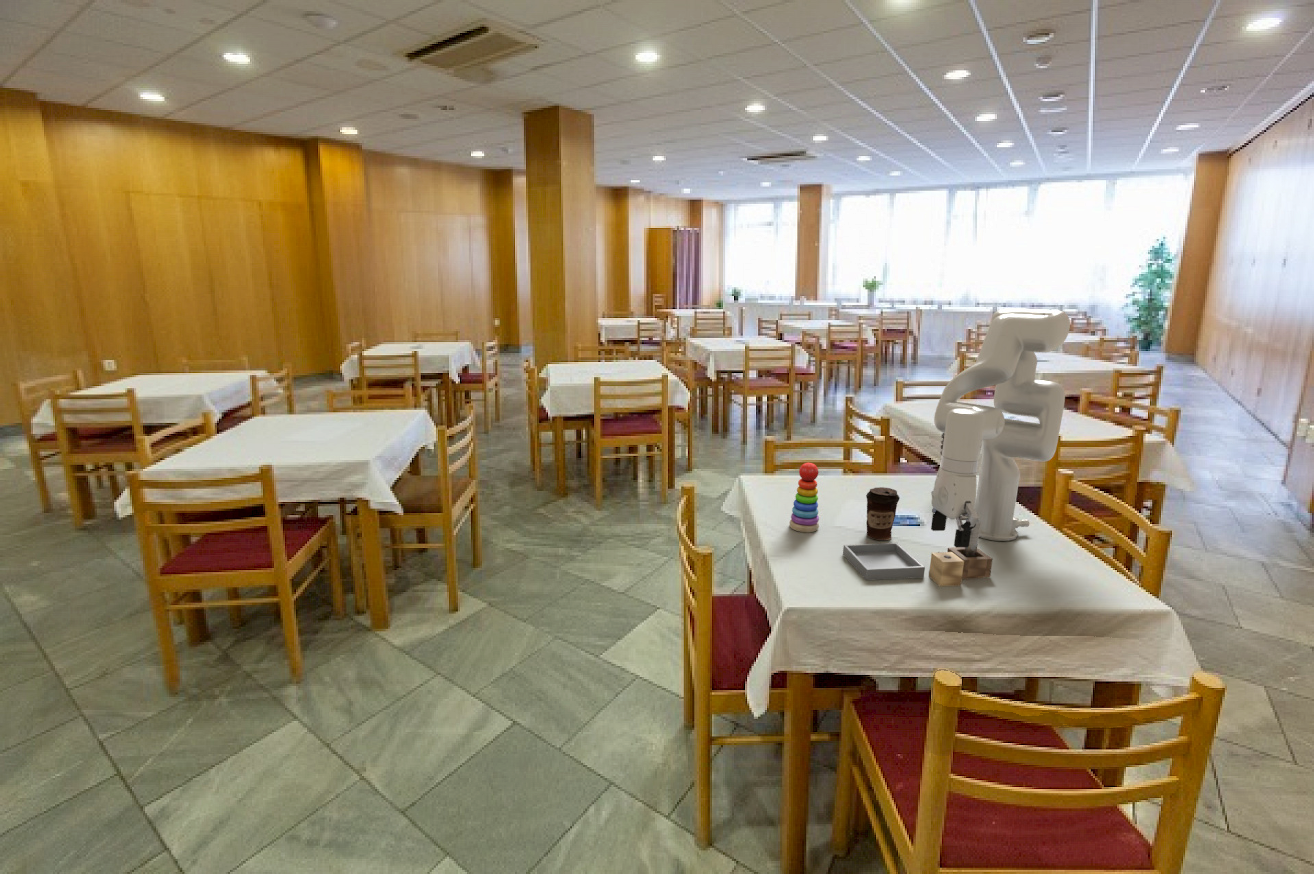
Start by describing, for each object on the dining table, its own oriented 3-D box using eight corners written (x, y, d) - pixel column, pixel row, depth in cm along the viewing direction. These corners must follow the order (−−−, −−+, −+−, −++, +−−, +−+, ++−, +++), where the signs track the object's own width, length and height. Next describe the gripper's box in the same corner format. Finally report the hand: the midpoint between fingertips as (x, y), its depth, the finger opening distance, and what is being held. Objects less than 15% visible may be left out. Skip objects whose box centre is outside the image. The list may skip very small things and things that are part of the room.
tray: (896, 552, 168) (897, 542, 167) (923, 577, 155) (925, 567, 154) (842, 554, 166) (843, 544, 166) (866, 579, 153) (867, 569, 152)
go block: (972, 565, 162) (975, 546, 160) (989, 578, 155) (992, 558, 154) (945, 566, 161) (947, 547, 160) (961, 580, 154) (964, 560, 153)
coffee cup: (897, 544, 173) (902, 497, 169) (864, 541, 174) (868, 494, 171) (892, 531, 181) (897, 486, 178) (861, 529, 183) (865, 484, 179)
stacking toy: (783, 528, 183) (787, 462, 178) (798, 520, 189) (802, 456, 184) (809, 535, 178) (814, 468, 173) (823, 527, 184) (828, 462, 179)
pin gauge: (969, 566, 159) (976, 519, 156) (976, 571, 157) (983, 524, 154) (959, 567, 159) (966, 520, 156) (965, 572, 156) (972, 524, 153)
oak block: (948, 575, 156) (952, 551, 154) (960, 585, 151) (964, 561, 149) (928, 576, 155) (931, 552, 154) (939, 586, 150) (943, 561, 149)
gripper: (923, 455, 154) (914, 524, 158) (965, 476, 137) (954, 554, 141) (953, 455, 155) (944, 524, 159) (999, 476, 138) (987, 553, 142)
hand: (949, 538), depth 150 cm, fingers open, 9 cm apart
